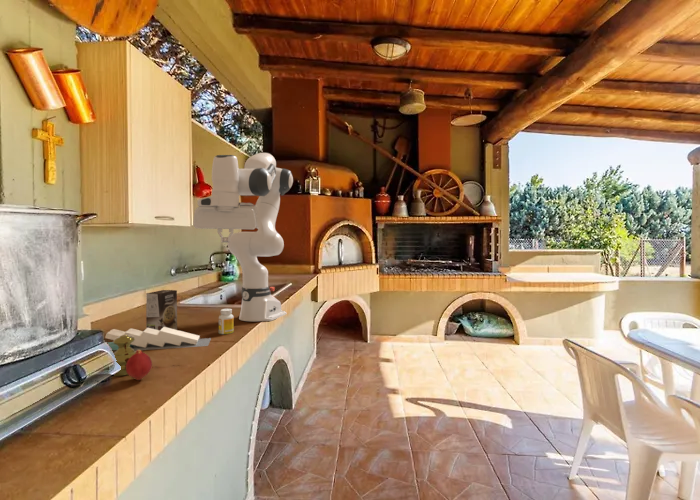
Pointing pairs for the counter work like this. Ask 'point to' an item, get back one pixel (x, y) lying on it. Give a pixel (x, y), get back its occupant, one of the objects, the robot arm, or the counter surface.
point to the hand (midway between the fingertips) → (225, 242)
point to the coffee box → (161, 309)
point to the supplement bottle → (226, 322)
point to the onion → (138, 365)
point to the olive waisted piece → (123, 352)
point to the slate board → (150, 347)
